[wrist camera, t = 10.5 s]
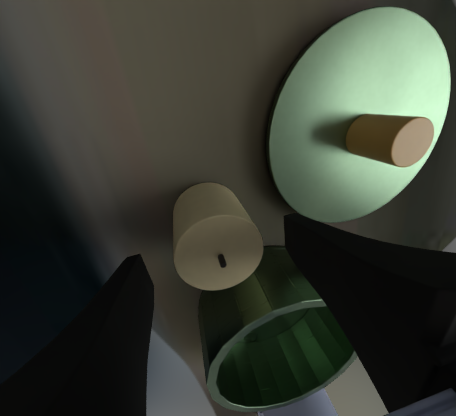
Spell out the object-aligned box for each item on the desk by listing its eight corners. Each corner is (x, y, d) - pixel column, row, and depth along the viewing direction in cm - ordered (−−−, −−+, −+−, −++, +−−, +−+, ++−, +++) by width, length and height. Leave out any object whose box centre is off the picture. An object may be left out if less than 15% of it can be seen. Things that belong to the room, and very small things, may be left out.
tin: (318, 320, 23) (357, 378, 18) (212, 356, 21) (224, 430, 16) (322, 229, 18) (379, 277, 13) (183, 268, 16) (187, 338, 11)
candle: (243, 232, 16) (272, 286, 11) (182, 248, 15) (187, 312, 11) (234, 175, 14) (265, 211, 9) (164, 191, 13) (160, 238, 9)
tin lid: (409, 195, 18) (472, 219, 14) (269, 233, 16) (298, 272, 13) (456, 0, 12) (580, -45, 9) (251, 30, 11) (293, -9, 7)
